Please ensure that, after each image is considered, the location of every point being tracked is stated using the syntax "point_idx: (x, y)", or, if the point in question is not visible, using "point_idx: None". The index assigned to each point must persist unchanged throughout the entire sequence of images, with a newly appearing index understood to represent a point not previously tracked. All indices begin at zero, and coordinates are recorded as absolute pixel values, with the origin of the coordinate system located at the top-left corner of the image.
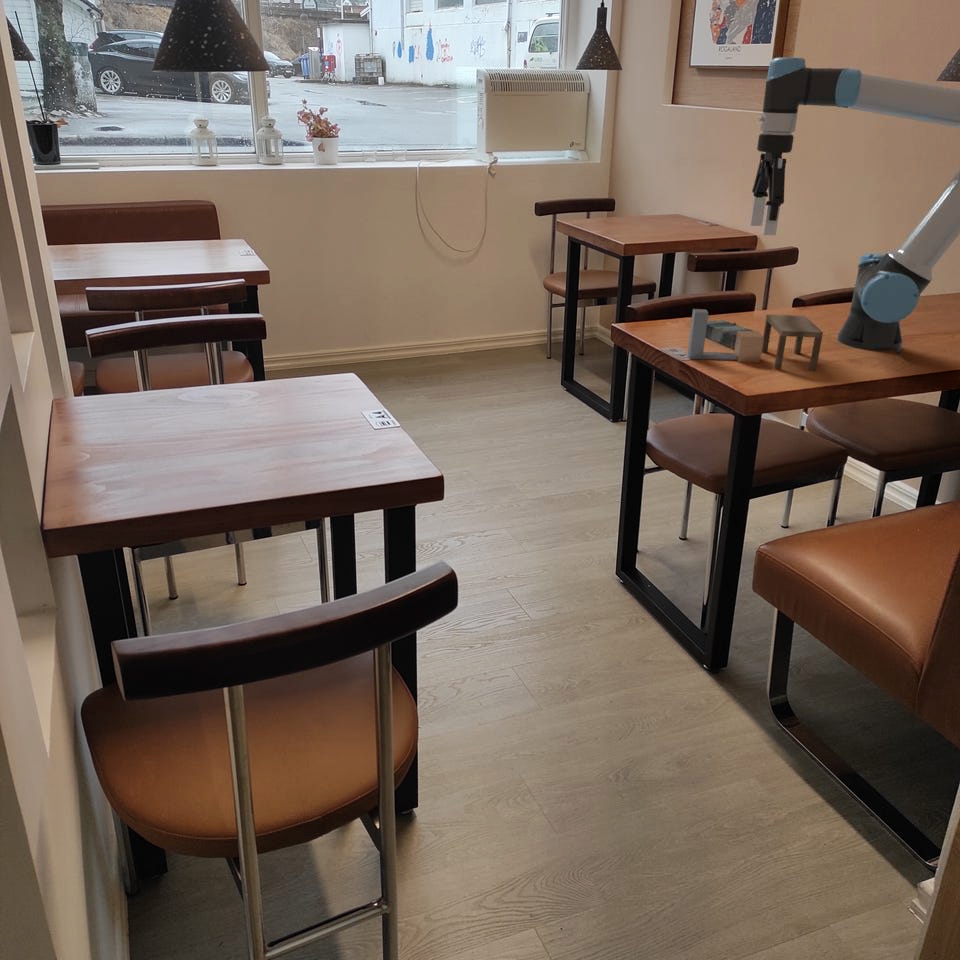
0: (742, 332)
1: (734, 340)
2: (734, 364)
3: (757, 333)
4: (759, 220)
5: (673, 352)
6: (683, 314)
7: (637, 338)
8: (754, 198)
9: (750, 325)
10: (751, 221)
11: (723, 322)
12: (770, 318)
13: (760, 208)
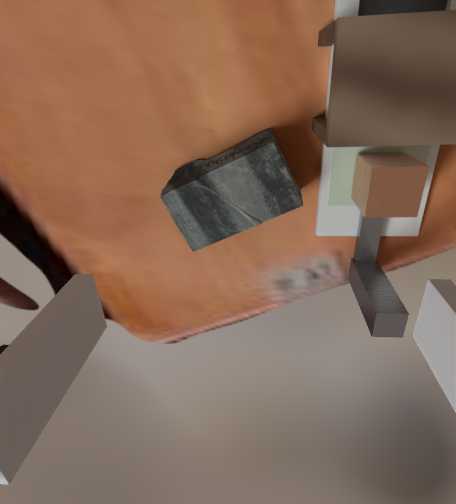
0: (380, 208)
1: (299, 194)
2: None
3: (390, 174)
4: (81, 308)
5: (296, 286)
6: (19, 233)
7: (217, 325)
8: (12, 475)
9: (50, 100)
10: (96, 340)
11: (185, 202)
12: (372, 145)
13: (42, 368)
